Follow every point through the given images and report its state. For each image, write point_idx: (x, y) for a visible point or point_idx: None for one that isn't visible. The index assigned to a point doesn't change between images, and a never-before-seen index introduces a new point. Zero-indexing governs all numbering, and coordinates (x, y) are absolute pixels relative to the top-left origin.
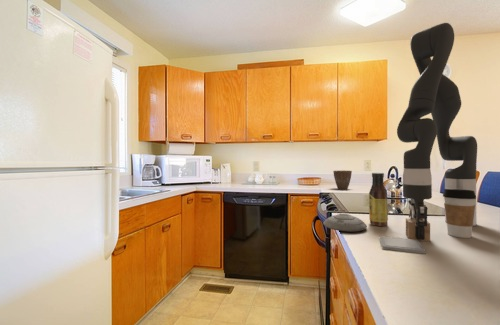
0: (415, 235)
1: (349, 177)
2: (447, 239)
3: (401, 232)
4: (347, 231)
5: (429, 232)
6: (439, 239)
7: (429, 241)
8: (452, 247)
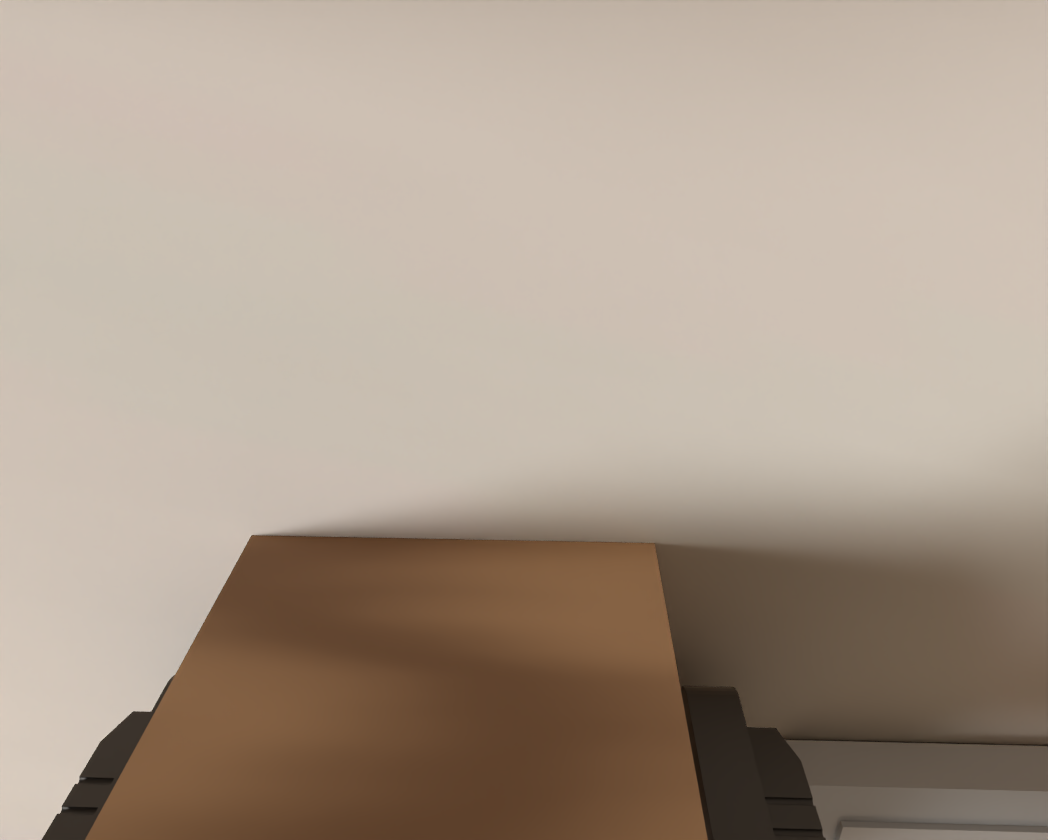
0: None
1: None
2: (275, 124)
3: None
4: None
5: (680, 716)
6: (376, 324)
7: (654, 556)
8: (1040, 225)
